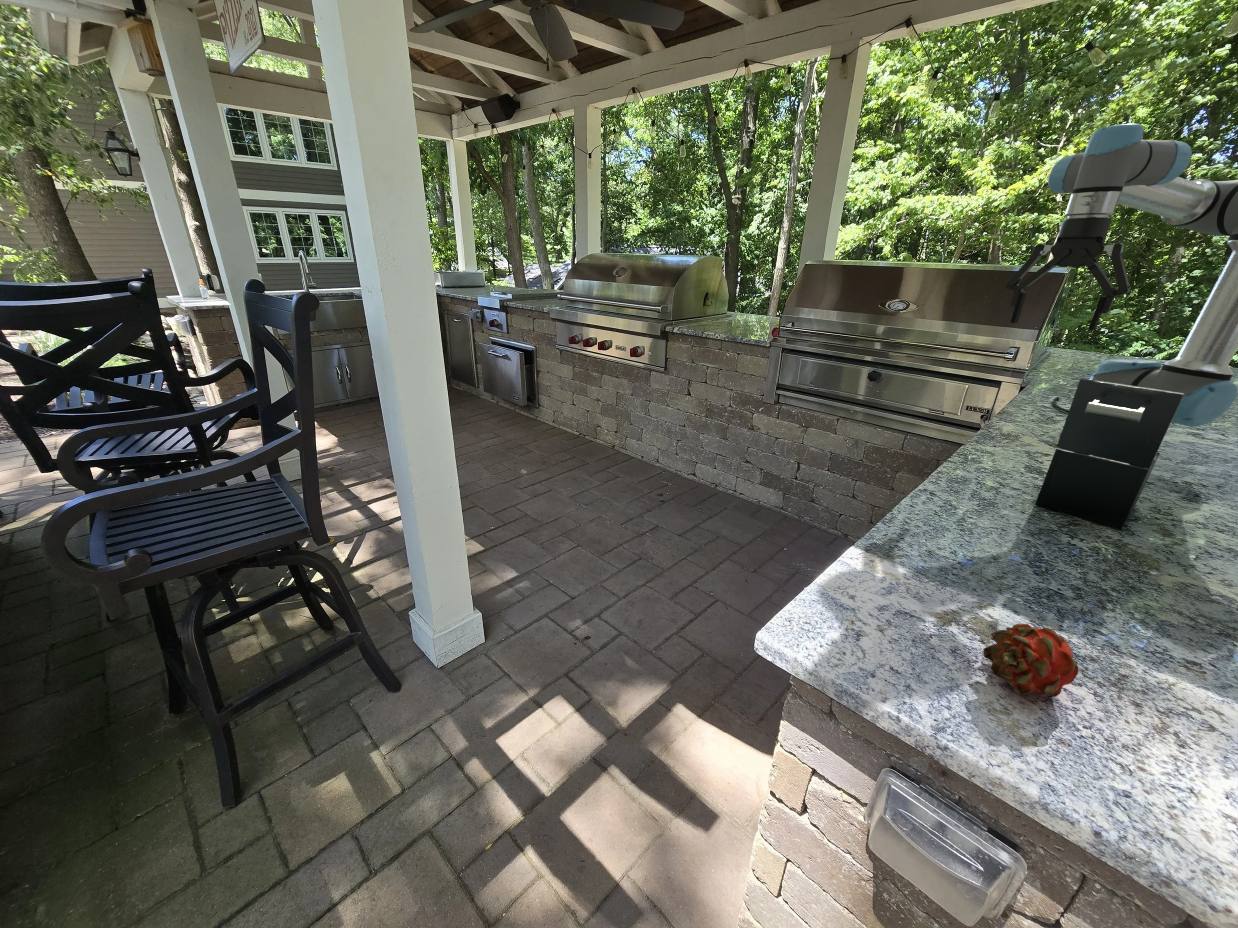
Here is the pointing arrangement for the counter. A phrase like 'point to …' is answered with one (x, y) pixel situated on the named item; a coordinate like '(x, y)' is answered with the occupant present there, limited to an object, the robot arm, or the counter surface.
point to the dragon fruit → (1032, 659)
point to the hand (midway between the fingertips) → (1051, 326)
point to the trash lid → (1118, 421)
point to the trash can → (1092, 487)
